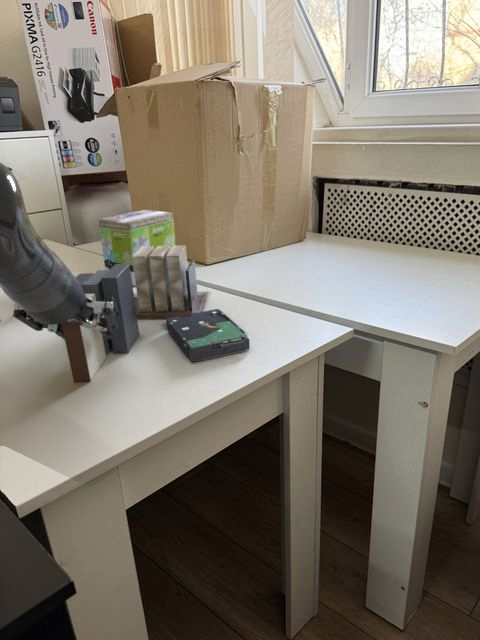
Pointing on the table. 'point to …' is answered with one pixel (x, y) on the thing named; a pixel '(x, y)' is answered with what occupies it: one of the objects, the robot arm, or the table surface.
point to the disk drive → (207, 335)
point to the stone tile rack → (165, 283)
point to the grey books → (121, 290)
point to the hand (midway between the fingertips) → (88, 333)
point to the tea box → (134, 235)
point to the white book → (84, 349)
